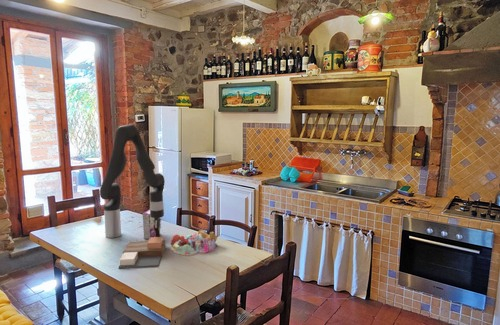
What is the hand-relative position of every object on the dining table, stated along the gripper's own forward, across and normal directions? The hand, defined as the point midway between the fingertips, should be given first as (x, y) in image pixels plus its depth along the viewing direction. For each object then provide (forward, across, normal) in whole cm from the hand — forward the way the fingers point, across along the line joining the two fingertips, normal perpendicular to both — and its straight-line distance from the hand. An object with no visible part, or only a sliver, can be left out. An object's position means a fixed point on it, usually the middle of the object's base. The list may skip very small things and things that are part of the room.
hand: (157, 237), depth 195 cm
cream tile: (+4, +22, -12) cm, 25 cm away
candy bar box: (+5, -17, -6) cm, 19 cm away
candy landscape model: (+6, +5, +21) cm, 23 cm away
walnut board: (+5, +10, -6) cm, 12 cm away
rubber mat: (+5, +23, -6) cm, 24 cm away
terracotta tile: (+1, +10, 0) cm, 10 cm away
